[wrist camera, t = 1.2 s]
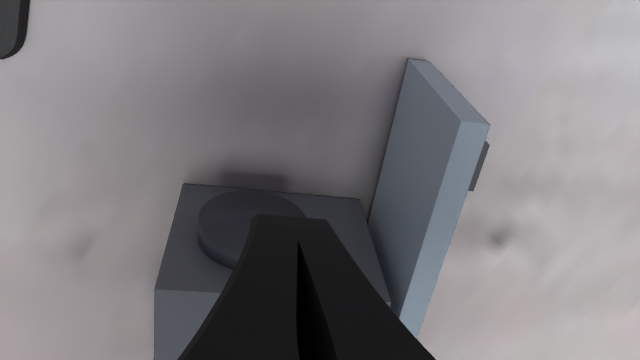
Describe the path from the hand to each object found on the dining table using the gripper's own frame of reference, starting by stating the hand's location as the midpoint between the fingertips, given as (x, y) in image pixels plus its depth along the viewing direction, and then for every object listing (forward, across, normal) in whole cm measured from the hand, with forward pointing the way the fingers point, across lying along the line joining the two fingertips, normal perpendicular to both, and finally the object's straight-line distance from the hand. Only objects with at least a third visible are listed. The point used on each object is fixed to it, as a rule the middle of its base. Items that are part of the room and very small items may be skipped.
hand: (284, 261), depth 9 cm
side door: (+10, -5, +6) cm, 13 cm away
